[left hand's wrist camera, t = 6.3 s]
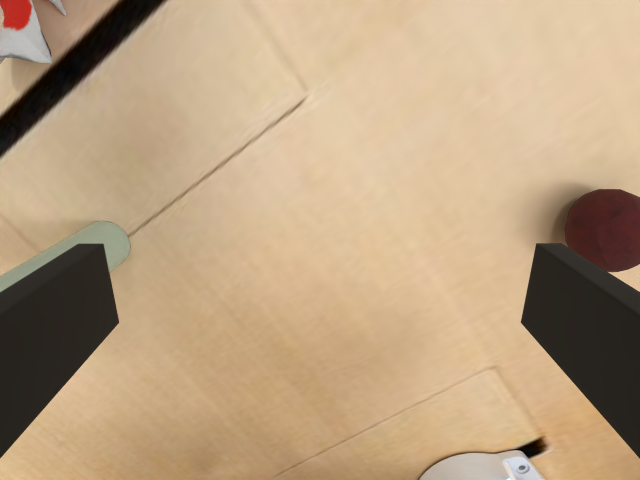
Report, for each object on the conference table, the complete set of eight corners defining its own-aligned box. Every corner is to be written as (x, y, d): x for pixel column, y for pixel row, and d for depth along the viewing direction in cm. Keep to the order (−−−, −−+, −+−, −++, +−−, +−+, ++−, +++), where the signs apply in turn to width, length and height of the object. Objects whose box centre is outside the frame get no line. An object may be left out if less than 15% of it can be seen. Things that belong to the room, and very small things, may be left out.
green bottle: (79, 256, 42) (-81, 365, 25) (86, 214, 41) (-80, 300, 24) (126, 270, 43) (-1, 386, 26) (134, 229, 41) (5, 324, 24)
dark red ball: (566, 266, 43) (611, 297, 36) (537, 206, 40) (579, 229, 34) (634, 229, 41) (695, 255, 35) (608, 165, 39) (667, 180, 32)
